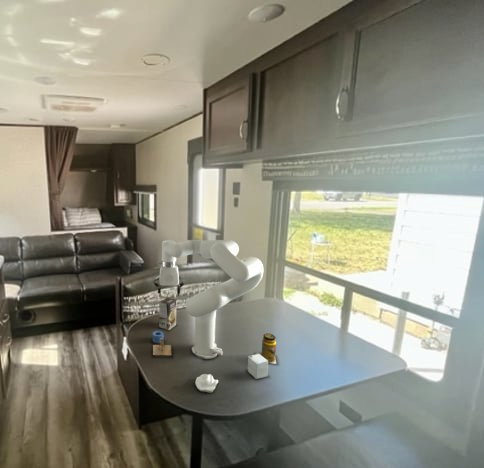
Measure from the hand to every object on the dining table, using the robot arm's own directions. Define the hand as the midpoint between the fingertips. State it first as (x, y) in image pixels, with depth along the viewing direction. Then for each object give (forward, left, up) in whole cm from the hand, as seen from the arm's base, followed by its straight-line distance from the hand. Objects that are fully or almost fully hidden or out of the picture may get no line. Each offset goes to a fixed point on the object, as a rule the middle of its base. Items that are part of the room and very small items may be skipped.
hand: (169, 294), depth 159 cm
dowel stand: (-4, +15, -24) cm, 29 cm away
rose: (-32, +27, -24) cm, 49 cm away
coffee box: (+6, -10, -24) cm, 27 cm away
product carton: (-48, +8, -24) cm, 54 cm away
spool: (+2, +8, -24) cm, 26 cm away
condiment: (-49, -6, -24) cm, 55 cm away
